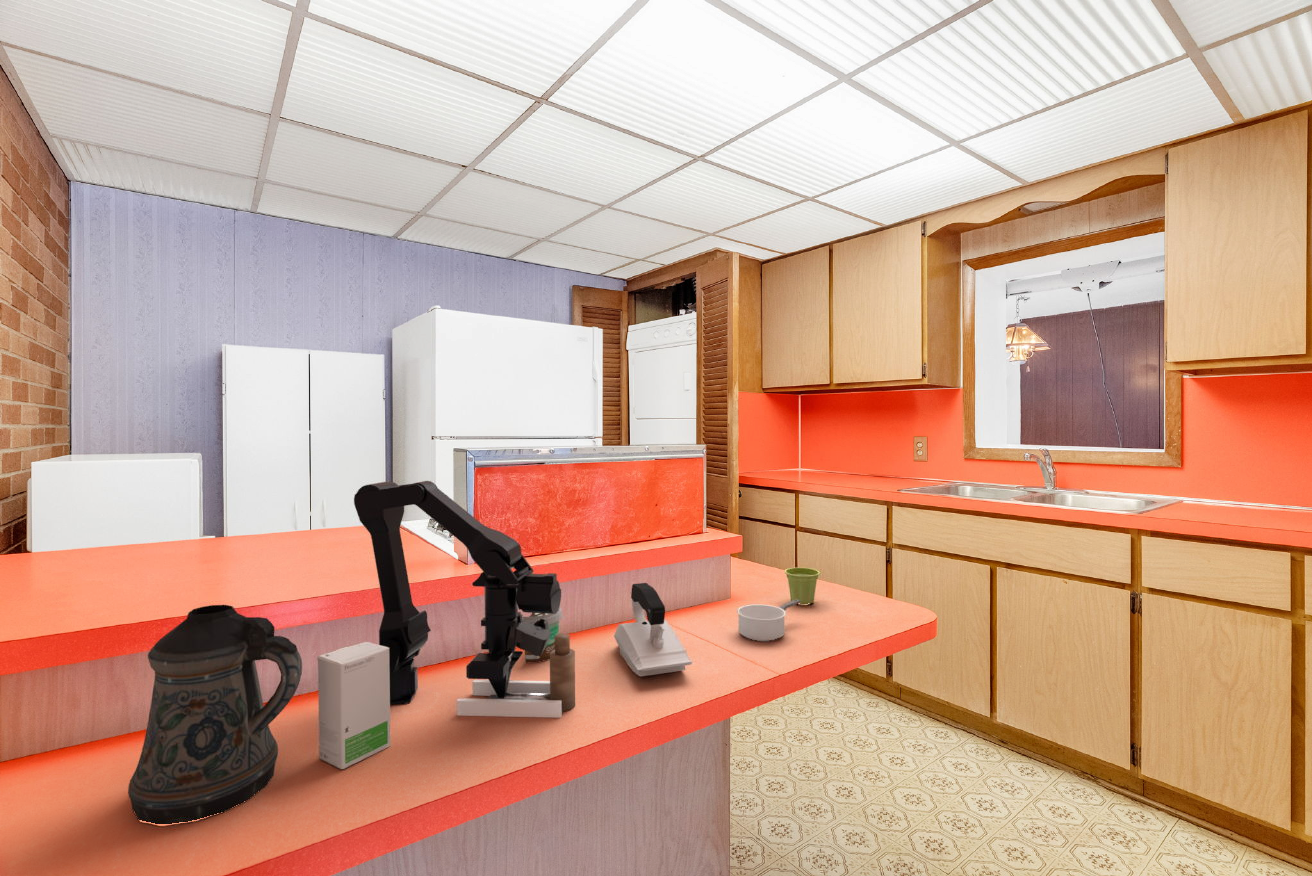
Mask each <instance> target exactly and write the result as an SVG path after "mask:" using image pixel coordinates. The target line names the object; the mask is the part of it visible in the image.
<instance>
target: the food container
mask: <svg viewBox="0 0 1312 876" xmlns="http://www.w3.org/2000/svg"><path fill="white" fill-rule="evenodd" d="M540 617H541V618H544V619H546V620H547V622H548V629H551V630H550V632H551V635H550V637H549V640H548V642H547V645H546V648H545V650H544V651H543V653H542V655H541V656H535V655H532V653H530V652H527V651H525V650H524V658H525V659H524V660H525V661H524V662H525V663H528V662H533V663H540V662H539V661H541V662H544V661H543V660H546V661H549V660H550V652H551V651H553V650H555V635H557V634H560V633H559V632H560V621H561V620H562V619H563V617H564V615H563V612H562V608H561V605H560V606H559V609H558V611H557V613H556V614H547V613H530V615H529V616H523V622H526V623H530V622H532V624H534V623H535V622H536V621H537V620H538V619H539V618H540ZM548 659H549V660H548Z"/></svg>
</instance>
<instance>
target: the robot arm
mask: <svg viewBox="0 0 1312 876" xmlns="http://www.w3.org/2000/svg"><path fill="white" fill-rule="evenodd" d="M353 504H354V507H355V511H356V512H357V513H356V514H357V516H358V520H359V523H361V524H362V525H363V527H364V528H365V529H366V530H367V532H369V533H368V534H369V535H370V539H371V544H372V550H373V555H374V561H375V568H376V572H377V577H378V578H377V579H378V585H379V589H380V596H381V601H382V606H383V615H382V618H381V622H380V626H379V629H378V645H381V646H385V647H388V648H389V672H390V705H396V704H397V705H398V704H408V703H411V702H412V701H413V697H414V695H416V693H417V691H418V689H419V678H418V667H417V666H415V659H414V658H415V657H418V656H419V655H420V652H421V649H422V648H423V647H424V646H425V644H426V643H427V642H428V640H429V639H428V638H429V633H430V632H431V631H432V630H431V628H430V626H429V623H428V613H427V611H426V610H422V611H419V610H418V609H417V608H416V607H415V605H414V603H413V598H412V593H411V589H410V588H411V587H410V583H409V582H410V581H409V577H408V576H409V575H408V570H407V564H406V559H405V554H404V547H403V541H402V535H401V531H400V530H401V524H402V521H403V517H404V514H405V506H413V505H414V506H416V507H418V509H419V510H420V509H421V510H422V512H423V513H425V514H426V515H427V516H428V517H430V518H431V519H432V520H434V521H435V522H436V523H438V525H440V526H441V527H442V528H444V530H446V531H447V532H448V533H450V534H451V535H452V536H453V537H454V538H456V539H457V540H458V541H459V542H460V543H462V544H463V546H464V547H466V549H467V551H468V553H469V556H470V557H471V559H472V560H473V562H474V563H475V564H476V565H477V566H478V567H479V568H480V570H481V571H482V572H480V575H479V576H478V577H477V579H475V580H474V581H472V584H471V585H472V586H473V587H483V588H484V591H483V592H484V617H483V618H482V619H481V620H480V627H484V640H483V641H482V643H481V645H480V649H481V650H485V651H486V650H487V651H488V652H478V653H477V654H476V655H475V656H474V657H473V658H472V660H470V662H469V663H468V664H467V665H466V670H465V671H466V673H465V674H466V676H465V677H466V678H467V679H468V680H489V681H490V683H491V685H492V687H493V689H494V691H495V692H496V694H497V696H498V698H504V697H505V694H506V692H507V688H508V684H509V680H510V679H511V675H512V671H513V668H514V666H515V665H516V664H517V662H518V660H519V659H520V658H521V656H522V655H523V653H524V652H525V651H527V652H530V653H532V655H535V656H541V655H542V653H543V651H544V650H545V648H546V645H547V642H548V640H549V637H550V635H551V632H550V630H551V629H548V622H547V620H546V619H544V618H541V617H540V618H539V619H538V620H537V621H536V622H535V623H534V624H532V622H530V623H526V622H523V617H524V616H523V614H522V612H523V613H529V614H532V613H547V614H556V613H557V611H558V609H559V606H560V607H561V600H562V589H561V586H560V582H559V580H558V579H557V578H558V576H557V574H556V573H553V572H550V573H534V568H533V567H532V566H531V565H530V563H529V561H528V560H527V558H526V557H525V556H524V555H523V554H522V547H521V545H520V543H519V542H518V541H517V540H515V539H514V538H512V537H510V536H509V535H507V534H505V533H504V532H501V531H499V530H496V529H495V528H494V529H493V528H490V527H488V526H486V525H484V524H482V523H481V522H480V521H479V520H478V519H477V518H475V517H474V516H473V515H472V514H470V513H469V512H468V511H467V510H466V509H464V508H463V507H462V506H460V505H459V504H458V503H457V502H455V501H454V500H453V499H452V498H451V497H449V496H448V495H447V494H446V493H444V492H443V491H442V490H441V489H440V488H438V486H437V485H436V483H435V482H432V481H431V480H423V481H419V482H413V483H408V484H400V485H398V484H397V483H396V482H393V481H390V480H389V481H387V480H386V481H381V482H377V483H375V482H374V483H369V484H365V485H363V486H361V487H360V488H359V489H358V490H357V491H356V493H355V494H354V497H353ZM512 569H514V571H513V570H512ZM519 610H521V611H522V612H520V611H519ZM517 648H518V649H520V650H516V649H517ZM523 651H524V652H523Z"/></svg>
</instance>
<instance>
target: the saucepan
mask: <svg viewBox="0 0 1312 876" xmlns="http://www.w3.org/2000/svg"><path fill="white" fill-rule="evenodd" d="M799 602H800V600H797V599H796V600H793V601H791V600H790V601H789V602H786V603H783V604H781V605H780V606H779V607H778V606H775V605H771V604H758V603H757V604H748V605H747V604H746V605H743V606H740V607H738V608H737V609H736V613H737V614H738V633H739V634H740V635H742V636H744V637H745V638H746V639H748V640H751V639H752V641H755V640H757V641H756V642H770V641H769V640H772V641H776V640H778V639H779V638H782V637H783V636H784V635H785V634H786V633H785V631H786V629H785V626H786V625H785V618H786V617H785V616H786V615H787V611H786V610H787V609H788V608H790V607H792V606H793V607H794V605H797V603H799ZM777 638H778V639H777ZM775 639H776V640H775Z"/></svg>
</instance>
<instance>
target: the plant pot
mask: <svg viewBox="0 0 1312 876" xmlns="http://www.w3.org/2000/svg"><path fill="white" fill-rule="evenodd" d="M784 573H785V574H786V578H787V580H788V588H789V589H788V590H789V595H790V596H789V597H790V602H791V601H793V600H796V599H797V600H800V602H799V603H800V604H808V603H813V602H814V603H815V595H816V587H817V581H818V579H819V576H820V574H821V573H820V571H819V570H817V569H815V568H812V567H811V568H810V567H791V568H790V567H789V568H786V569H784ZM814 603H813V604H814Z"/></svg>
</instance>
